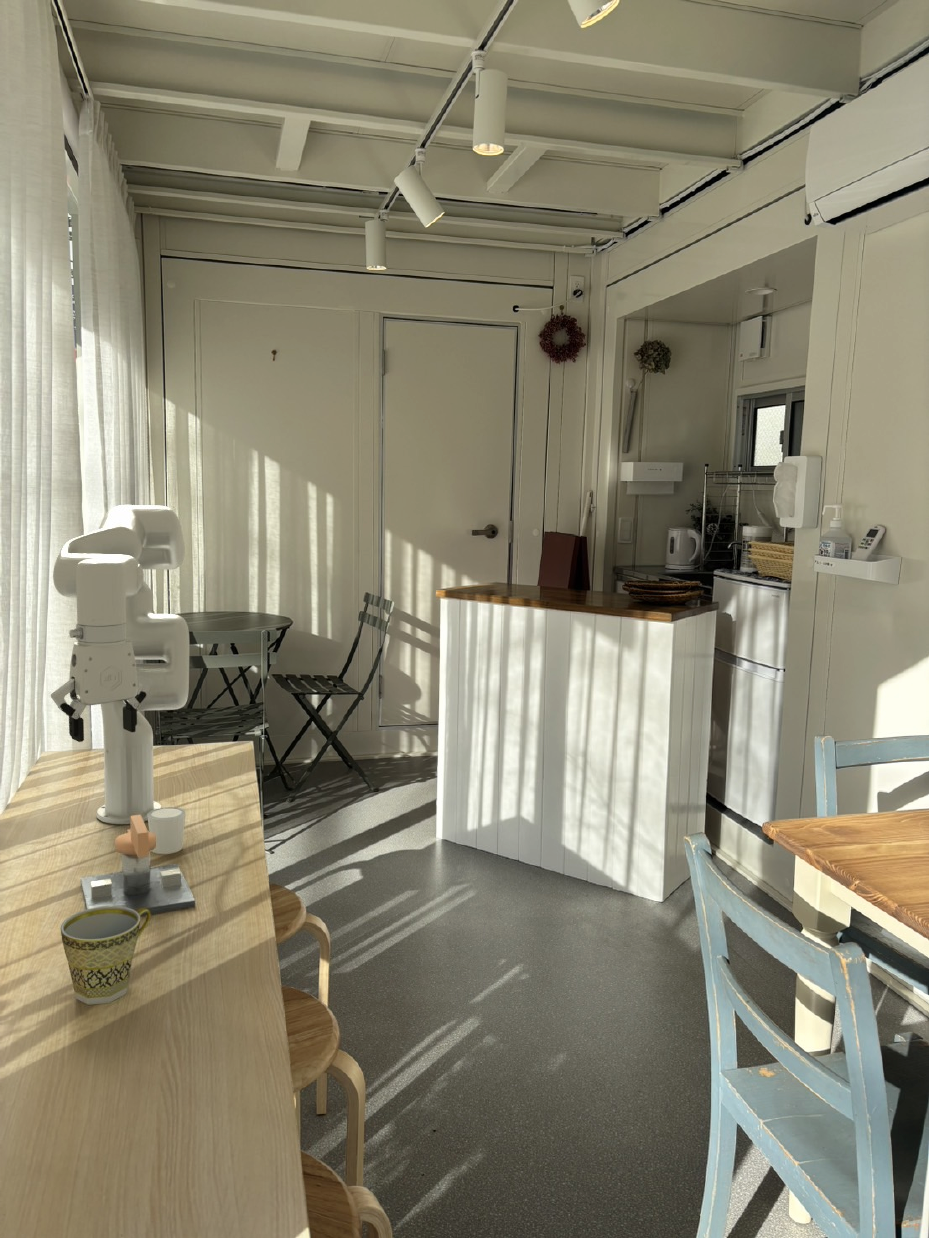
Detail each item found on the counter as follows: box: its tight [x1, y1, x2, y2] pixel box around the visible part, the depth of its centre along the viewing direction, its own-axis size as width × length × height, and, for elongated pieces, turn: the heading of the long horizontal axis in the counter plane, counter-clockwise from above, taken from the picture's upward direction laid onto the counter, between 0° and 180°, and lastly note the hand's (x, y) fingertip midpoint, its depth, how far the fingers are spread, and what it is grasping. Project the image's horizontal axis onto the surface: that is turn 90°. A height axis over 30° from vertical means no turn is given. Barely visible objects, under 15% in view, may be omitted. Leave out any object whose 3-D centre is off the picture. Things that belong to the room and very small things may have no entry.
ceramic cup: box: [60, 906, 152, 1006], centre depth 126 cm, size 13×10×10 cm
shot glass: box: [147, 806, 187, 855], centre depth 175 cm, size 7×7×7 cm
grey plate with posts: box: [80, 851, 196, 917], centre depth 154 cm, size 16×16×8 cm
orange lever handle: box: [114, 815, 156, 858], centre depth 152 cm, size 14×6×6 cm, turn 27°
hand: (104, 734), depth 156 cm, fingers open, 8 cm apart
